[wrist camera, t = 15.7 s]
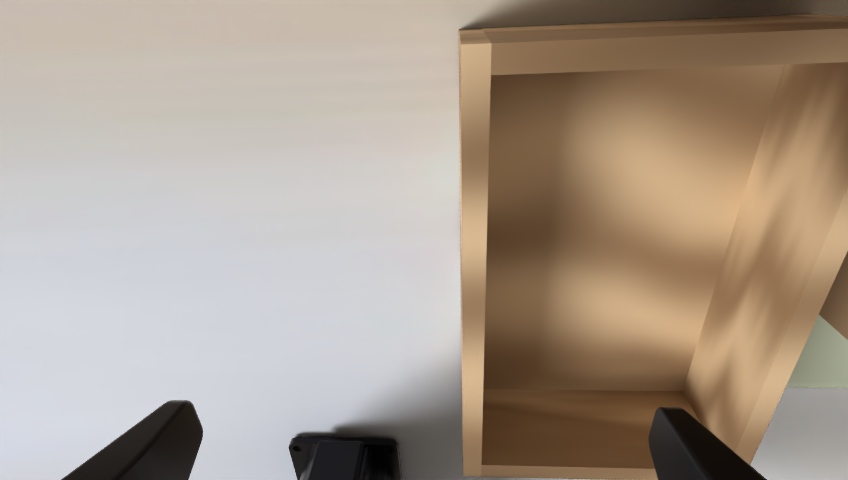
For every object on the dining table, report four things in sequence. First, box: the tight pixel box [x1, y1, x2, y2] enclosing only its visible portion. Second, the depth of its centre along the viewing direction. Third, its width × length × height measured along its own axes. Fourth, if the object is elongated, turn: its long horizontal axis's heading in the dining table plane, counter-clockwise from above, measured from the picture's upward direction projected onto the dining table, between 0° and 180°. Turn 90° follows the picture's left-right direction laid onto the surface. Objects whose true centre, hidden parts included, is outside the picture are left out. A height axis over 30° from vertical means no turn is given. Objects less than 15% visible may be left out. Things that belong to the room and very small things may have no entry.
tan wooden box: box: [459, 14, 848, 480], centre depth 15 cm, size 23×12×9 cm, turn 3°
